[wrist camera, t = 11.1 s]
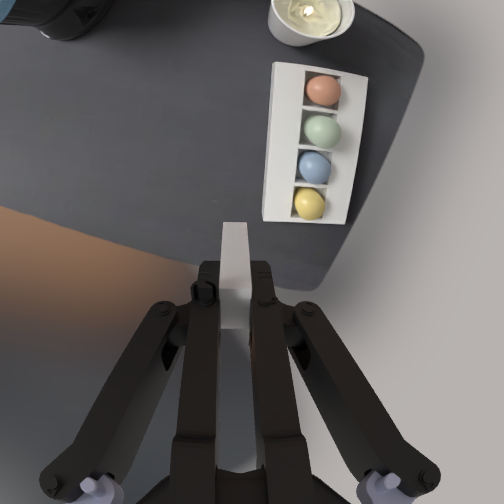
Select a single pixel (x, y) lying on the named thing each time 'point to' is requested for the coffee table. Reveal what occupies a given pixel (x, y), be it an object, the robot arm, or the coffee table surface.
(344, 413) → the robot arm
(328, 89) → the orange rounded piece
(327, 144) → the pale green rounded piece
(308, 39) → the candle holder
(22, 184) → the coffee table surface
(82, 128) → the coffee table surface
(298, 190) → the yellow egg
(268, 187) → the white slotted tray
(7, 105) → the coffee table surface
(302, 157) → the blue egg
